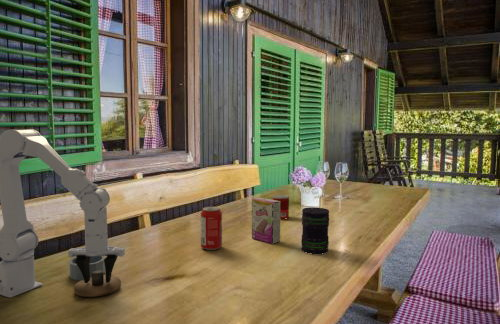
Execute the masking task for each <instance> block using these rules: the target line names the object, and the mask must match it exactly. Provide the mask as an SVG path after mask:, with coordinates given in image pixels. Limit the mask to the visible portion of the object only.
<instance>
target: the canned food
mask: <svg viewBox="0 0 500 324" xmlns="http://www.w3.org/2000/svg"><path fill="white" fill-rule="evenodd" d="M272 200H276V201H281V207H280V208H281V209H280V219H285V218H288V219H289V217H290V196H289V195H286V194H275V195H273V196H272ZM285 220H286V219H285Z"/></svg>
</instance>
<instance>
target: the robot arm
mask: <svg viewBox="0 0 500 324" xmlns="http://www.w3.org/2000/svg"><path fill="white" fill-rule="evenodd" d="M26 157H35V158H39V160H40V161H42V163H44V164H45V165H47V166H48V167H49V168H50V169H51V170H53V171H54V172H55V174H57V175H58V176H59V177H60V183H61V184H62V186H63V187H64V188H65V189H66V190H67V191H69V192H70V193H71V194H72V195H73V196H74V197H75V198H76V199H77V200H78V201H79V207H80V208H81V210H82V211H83V214H84V215H83V217H84V242H85V243H84V245H85V246H83V247H75V248H73V247H72V248H70V249H68V250H67V251H68V253H67V254H68V256H67V257H68V258H74V257H77V258H76V260H75V263H76V264H77V266H78V267H79V269H80V271H81V273H82V275H83V278H84V282H85V283H88V282H89V281H90V269H89V266H90V256H104V257H105V259H104V263H105V270H106V272H105V276H106V283H109V282H110V280H111V276H112V275H113V269H114V267H115V264H116V262H117V259H118V257H120V258H121V257H122V258H123V257H124V256H125V255H126V252H125V251H126V249H125V247H116V246H109V240H108V237H109V236H108V215H107V212H108V211H107V206H108V205H109V203H110V201H111V200H110V198H111V197H110V194H109V193H108V191H107V189H106V188H103V187H99V185H98V184H97V183H94V182H93V181H92V180H91V179H90V178H89V177H88V176H86V174H87V173H86V172H85V170H81V169H79V168H72V167H70V165H69V164H68V163H67V162H66V161H65V160H64V159H63V158H62V157H61V155H59V153H58V152H57V151H56V150H55V149H54V148H53V147H52V146H51V145H50V144H49V142H48V140H47V138H46V137H45V136H43V135H41V133H40V132H39V131H38V130H36V129H32V128H28V129H7V130H5V131H3V132H2V133H1V134H0V208H1V214H2V215H1V216H2V220H3V226H2V227H1V228H0V259H2V260H1V261H0V295H1V296H2V297H3V296H4V297H6V298H13V297H16V296H18V295H21V294H23V293H26V292H29V291H31V290H33V289H36V288H39V287H42V286H43V283H42V282H39V281H36V276H35V275H36V273H35V255H34V254H35V249H36V247H38V244H39V236H38V234H37V232H36V231H35V228H34V224H33V223H31V222H30V221H28V219H27V213H26V206H25V199H24V192H23V185H22V184H23V183H22V180H21V179H22V178H21V172H20V165H19V164H21V162H23V160H24V159H25V158H26Z"/></svg>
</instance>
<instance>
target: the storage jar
mask: <svg viewBox="0 0 500 324" xmlns="http://www.w3.org/2000/svg"><path fill="white" fill-rule="evenodd" d="M301 210H302V213H301V215H302V216H301V225H302V234H301V239H300V240H301V242H300V243H301V251H302V252H303V251H304V252H303V253H305V252H307V253H306V254H308V253H312V254H311V255H314V254H321V255H323V254H322V253H326V252H327V253H329V243H330V242H329V240H330V239H329V225H330V210H329V209H328V208H324V207H313V206H311V207H304V208H302V209H301ZM327 253H326V254H327Z"/></svg>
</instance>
